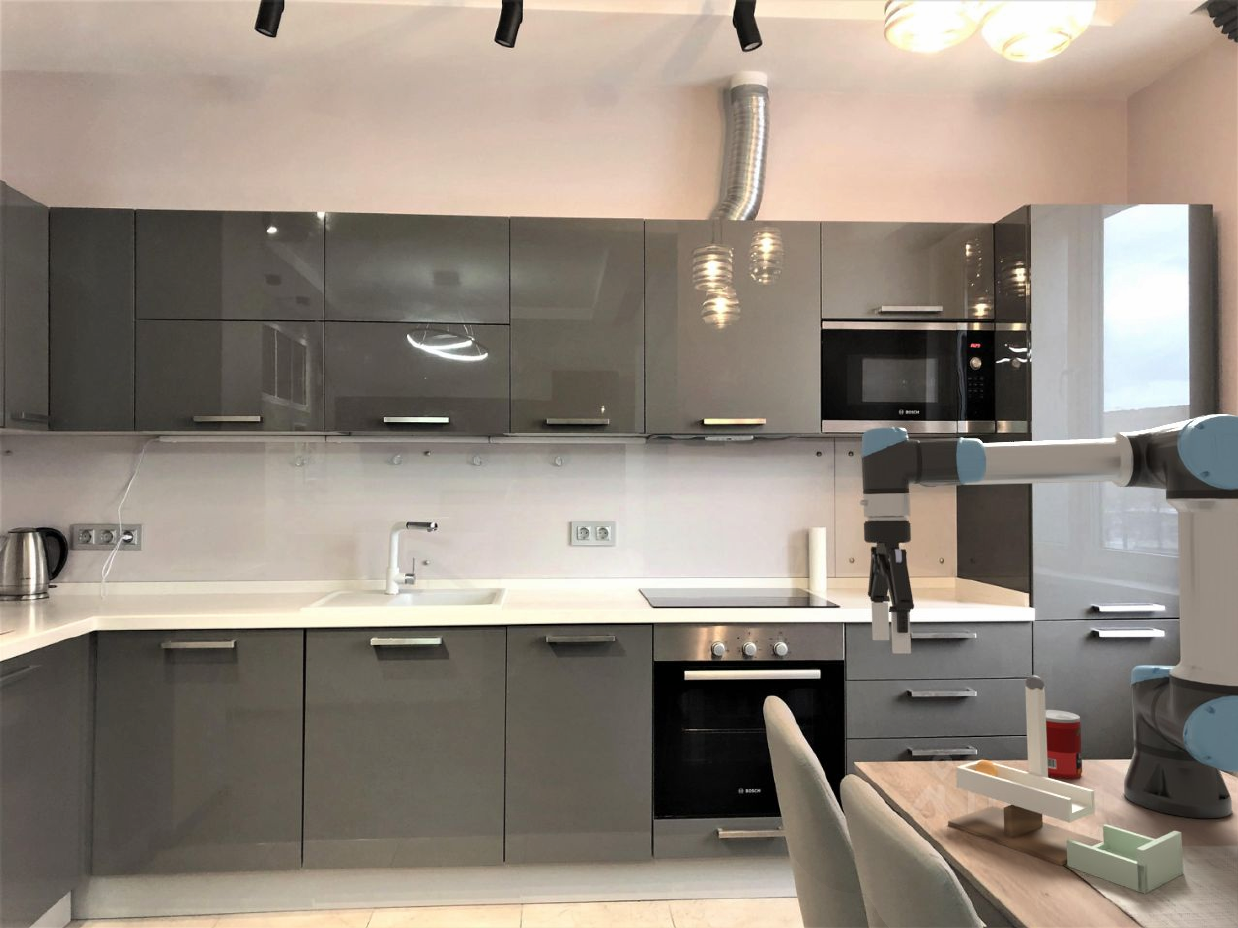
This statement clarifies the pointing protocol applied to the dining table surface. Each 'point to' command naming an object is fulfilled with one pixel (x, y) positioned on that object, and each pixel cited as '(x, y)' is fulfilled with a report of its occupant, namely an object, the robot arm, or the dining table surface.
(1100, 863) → the tray
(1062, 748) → the canned food
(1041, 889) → the dining table surface
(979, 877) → the dining table surface
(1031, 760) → the seesaw
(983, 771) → the ball
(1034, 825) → the stand
